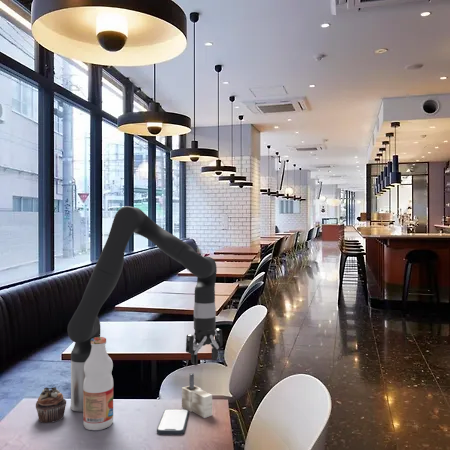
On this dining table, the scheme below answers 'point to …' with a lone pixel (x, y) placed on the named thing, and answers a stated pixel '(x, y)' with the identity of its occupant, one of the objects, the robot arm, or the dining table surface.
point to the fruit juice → (98, 387)
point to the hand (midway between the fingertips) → (204, 362)
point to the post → (191, 381)
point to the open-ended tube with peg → (197, 401)
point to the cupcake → (50, 405)
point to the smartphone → (173, 422)
